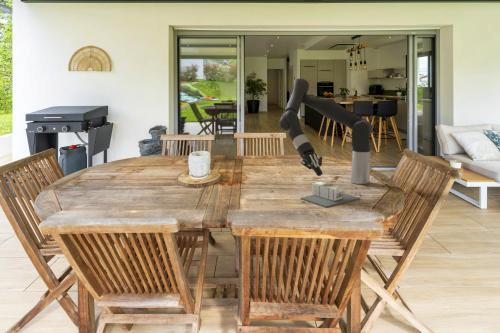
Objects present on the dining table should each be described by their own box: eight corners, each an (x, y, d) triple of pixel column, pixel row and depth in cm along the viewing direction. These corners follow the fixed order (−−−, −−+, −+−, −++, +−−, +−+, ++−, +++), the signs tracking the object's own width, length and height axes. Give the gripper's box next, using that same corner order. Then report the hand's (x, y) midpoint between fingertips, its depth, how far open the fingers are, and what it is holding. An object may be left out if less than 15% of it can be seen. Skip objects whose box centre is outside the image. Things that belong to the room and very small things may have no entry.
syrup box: (311, 194, 181) (335, 201, 170) (311, 182, 180) (335, 189, 169) (320, 192, 185) (343, 199, 173) (320, 180, 183) (343, 186, 172)
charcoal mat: (334, 191, 189) (334, 190, 188) (360, 199, 176) (360, 197, 176) (300, 199, 176) (300, 197, 176) (326, 207, 163) (326, 206, 163)
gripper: (309, 149, 193) (326, 177, 186) (289, 151, 185) (306, 181, 178) (317, 140, 187) (334, 168, 180) (296, 142, 180) (314, 172, 173)
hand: (320, 175), depth 179 cm, fingers closed
